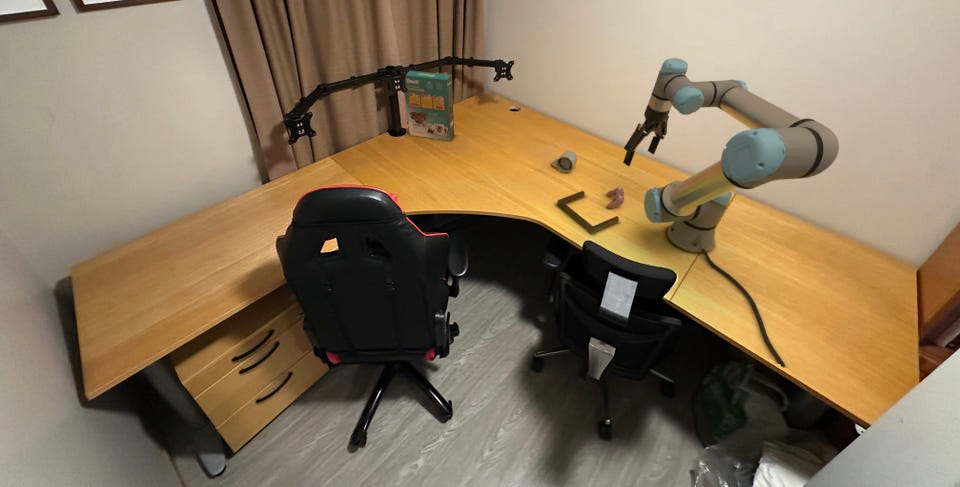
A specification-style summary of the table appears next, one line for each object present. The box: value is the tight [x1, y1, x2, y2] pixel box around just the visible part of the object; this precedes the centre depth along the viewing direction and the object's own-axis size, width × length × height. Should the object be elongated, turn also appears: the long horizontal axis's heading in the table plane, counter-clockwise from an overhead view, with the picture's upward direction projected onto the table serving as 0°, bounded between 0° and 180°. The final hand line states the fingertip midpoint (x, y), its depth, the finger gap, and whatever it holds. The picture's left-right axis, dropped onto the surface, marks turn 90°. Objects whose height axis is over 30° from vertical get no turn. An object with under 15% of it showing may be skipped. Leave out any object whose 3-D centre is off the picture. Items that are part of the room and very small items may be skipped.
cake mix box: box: [404, 70, 455, 142], centre depth 192 cm, size 22×6×30 cm, turn 74°
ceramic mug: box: [551, 150, 578, 173], centre depth 177 cm, size 11×8×8 cm
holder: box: [556, 190, 620, 235], centre depth 154 cm, size 20×13×2 cm, turn 31°
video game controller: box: [606, 187, 625, 209], centre depth 158 cm, size 10×5×7 cm, turn 168°
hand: (638, 158), depth 150 cm, fingers open, 13 cm apart
